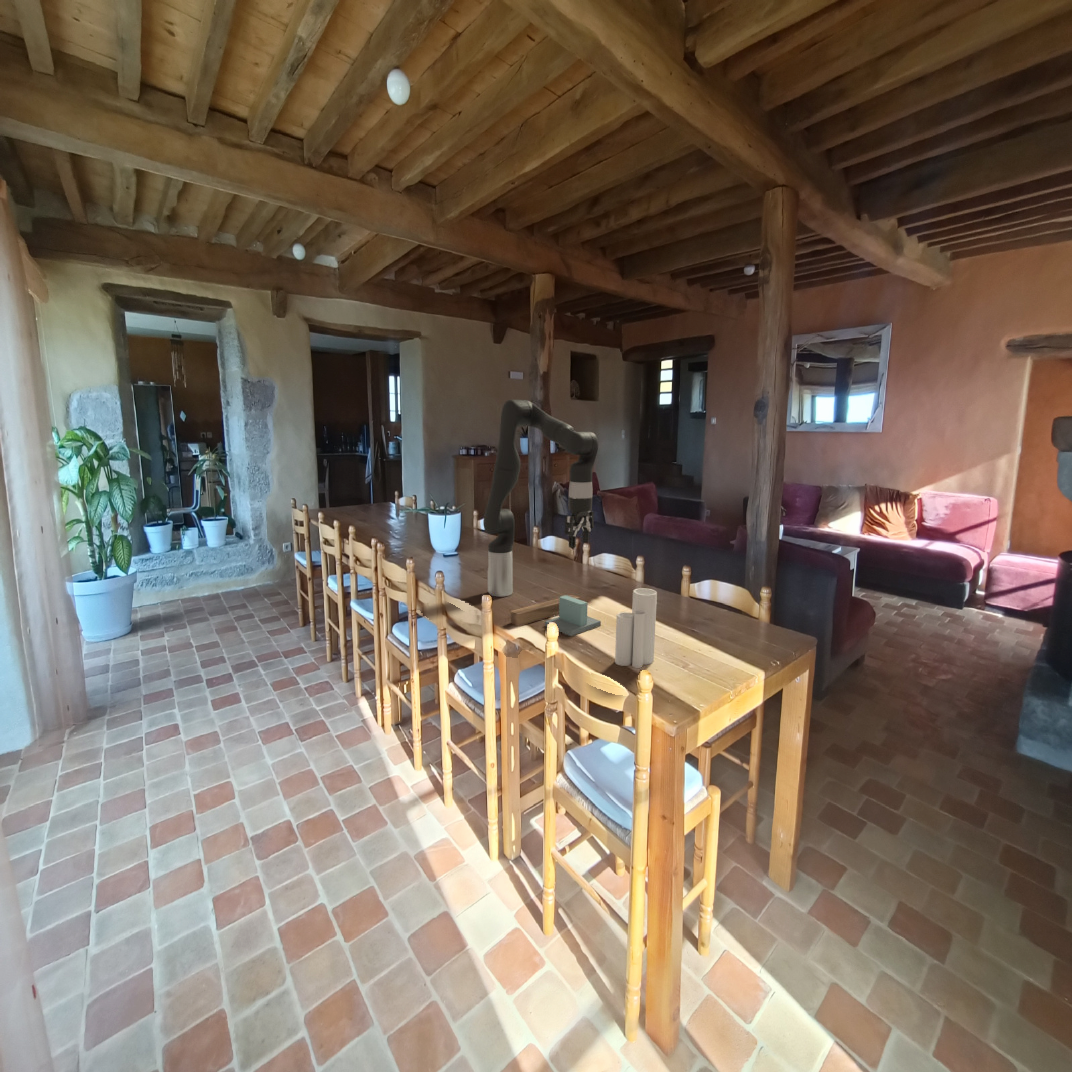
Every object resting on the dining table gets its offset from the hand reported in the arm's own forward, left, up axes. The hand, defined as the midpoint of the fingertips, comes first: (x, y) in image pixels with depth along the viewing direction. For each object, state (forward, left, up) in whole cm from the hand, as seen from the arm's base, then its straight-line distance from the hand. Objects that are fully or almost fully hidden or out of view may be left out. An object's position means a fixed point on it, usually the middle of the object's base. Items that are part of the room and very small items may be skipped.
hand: (579, 545), depth 175 cm
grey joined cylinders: (+32, -9, -27) cm, 43 cm away
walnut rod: (-12, -3, -27) cm, 30 cm away
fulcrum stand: (+1, -3, -27) cm, 27 cm away
